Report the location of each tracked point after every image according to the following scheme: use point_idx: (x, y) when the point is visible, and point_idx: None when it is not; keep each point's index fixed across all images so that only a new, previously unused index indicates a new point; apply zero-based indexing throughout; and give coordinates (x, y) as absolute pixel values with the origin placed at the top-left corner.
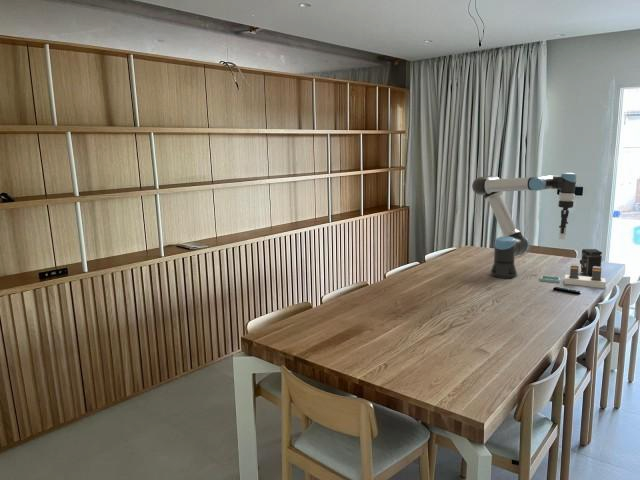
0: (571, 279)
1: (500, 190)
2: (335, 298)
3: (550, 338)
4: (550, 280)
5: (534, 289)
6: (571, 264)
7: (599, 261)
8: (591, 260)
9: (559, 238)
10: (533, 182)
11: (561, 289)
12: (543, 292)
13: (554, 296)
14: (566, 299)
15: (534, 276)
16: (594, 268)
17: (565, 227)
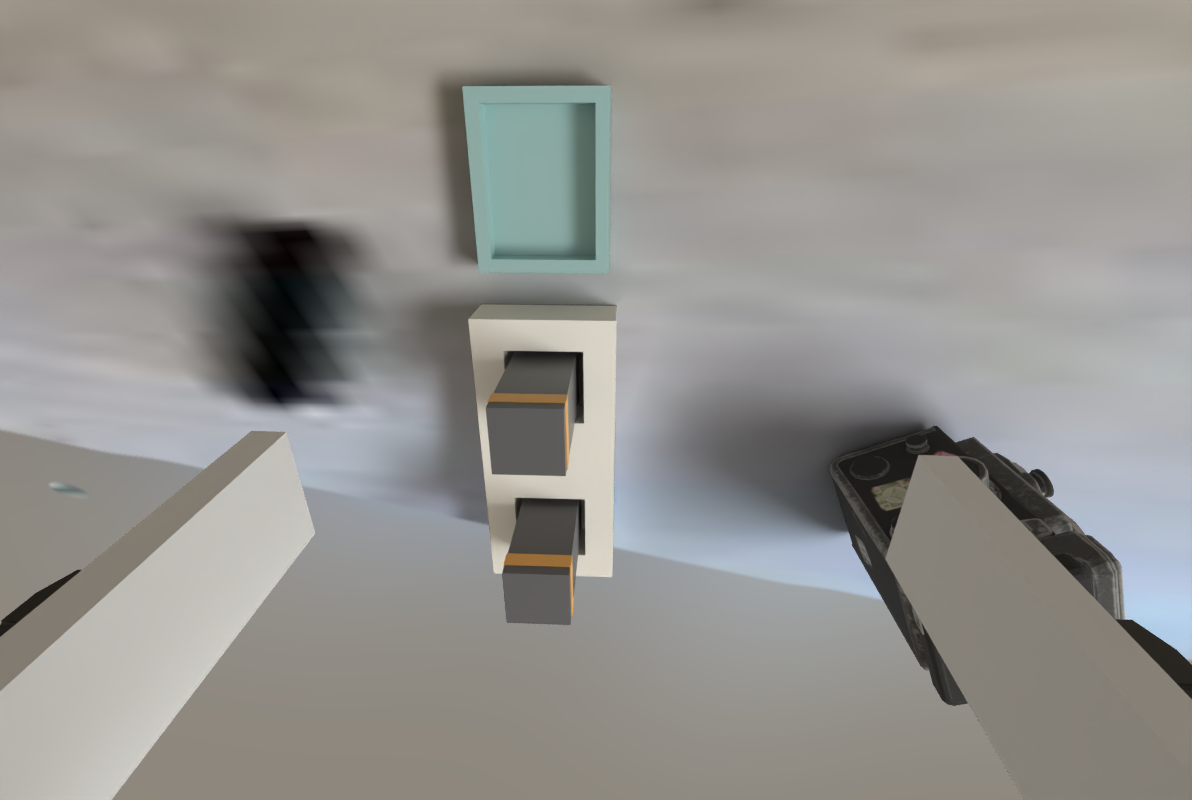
0: (473, 370)
1: None
2: None
3: None
4: (473, 190)
5: (158, 59)
6: (552, 414)
7: (894, 615)
8: (884, 569)
9: (248, 445)
10: None
11: (308, 287)
12: (122, 151)
13: (76, 244)
14: (67, 327)
15: (664, 3)
16: (503, 578)
17: (1016, 758)
